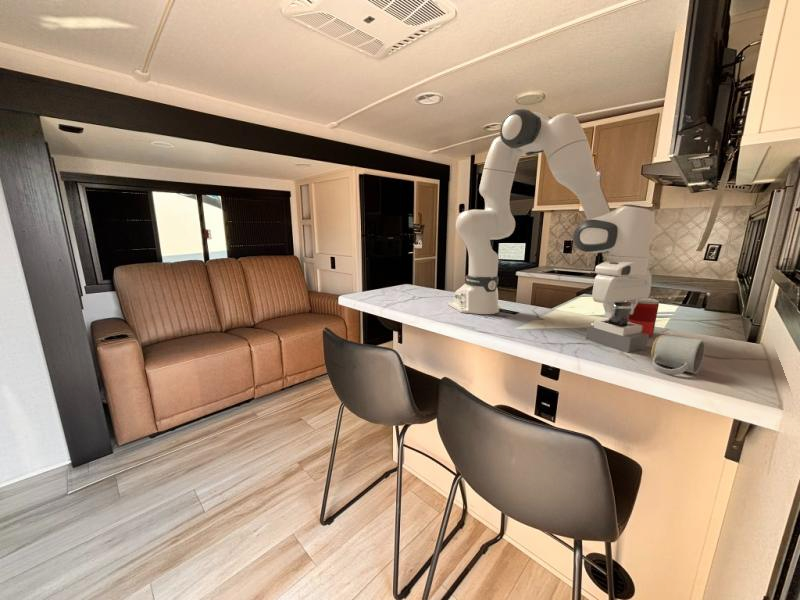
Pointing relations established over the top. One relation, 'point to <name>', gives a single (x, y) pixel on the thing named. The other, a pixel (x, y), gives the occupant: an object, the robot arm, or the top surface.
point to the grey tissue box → (617, 335)
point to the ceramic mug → (677, 354)
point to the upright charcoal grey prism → (620, 314)
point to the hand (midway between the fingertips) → (618, 315)
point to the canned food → (645, 315)
